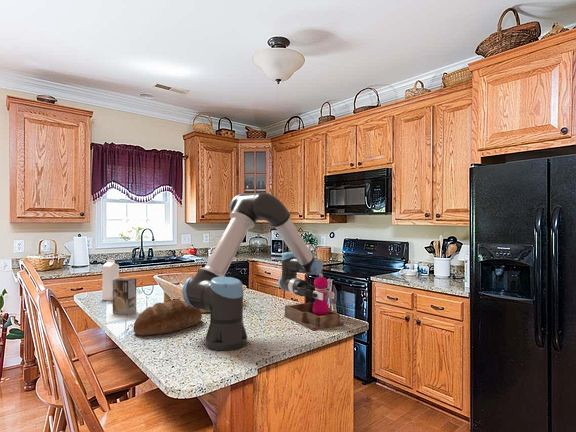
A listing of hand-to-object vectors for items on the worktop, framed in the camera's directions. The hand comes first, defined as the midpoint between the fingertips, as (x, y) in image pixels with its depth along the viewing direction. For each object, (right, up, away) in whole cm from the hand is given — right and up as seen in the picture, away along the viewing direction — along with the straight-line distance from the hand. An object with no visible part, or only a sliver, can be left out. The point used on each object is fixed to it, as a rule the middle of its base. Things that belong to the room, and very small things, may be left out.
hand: (327, 296), depth 154 cm
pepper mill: (-3, -11, +5) cm, 12 cm away
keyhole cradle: (-6, -13, +9) cm, 17 cm away
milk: (-116, -13, +51) cm, 127 cm away
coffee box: (-95, -13, +22) cm, 99 cm away
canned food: (-78, -13, +38) cm, 87 cm away
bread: (-66, -13, -2) cm, 67 cm away
